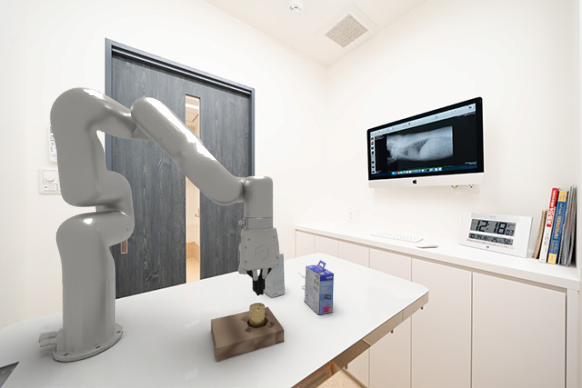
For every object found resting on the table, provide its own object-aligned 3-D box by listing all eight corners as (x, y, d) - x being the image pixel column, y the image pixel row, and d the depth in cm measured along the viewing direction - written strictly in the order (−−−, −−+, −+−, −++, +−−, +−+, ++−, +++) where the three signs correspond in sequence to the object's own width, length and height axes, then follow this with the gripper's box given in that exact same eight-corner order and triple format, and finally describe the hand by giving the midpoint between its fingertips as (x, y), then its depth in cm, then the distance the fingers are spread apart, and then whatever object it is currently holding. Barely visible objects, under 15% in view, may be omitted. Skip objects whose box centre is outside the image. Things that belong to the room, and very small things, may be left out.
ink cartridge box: (334, 312, 70) (334, 265, 69) (318, 316, 67) (319, 268, 67) (318, 298, 79) (318, 257, 78) (304, 301, 76) (304, 258, 76)
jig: (216, 361, 49) (216, 348, 49) (210, 330, 60) (211, 319, 60) (284, 341, 56) (284, 329, 56) (267, 316, 67) (268, 306, 67)
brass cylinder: (251, 339, 56) (251, 312, 56) (247, 330, 60) (247, 304, 60) (266, 335, 58) (266, 308, 58) (261, 326, 62) (262, 301, 62)
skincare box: (285, 294, 81) (285, 253, 81) (270, 298, 78) (270, 255, 78) (273, 286, 88) (274, 248, 88) (259, 289, 85) (260, 250, 85)
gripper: (232, 227, 52) (232, 306, 52) (290, 223, 58) (290, 293, 59) (226, 223, 59) (227, 292, 59) (279, 220, 65) (279, 282, 65)
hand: (258, 293), depth 59 cm, fingers closed
